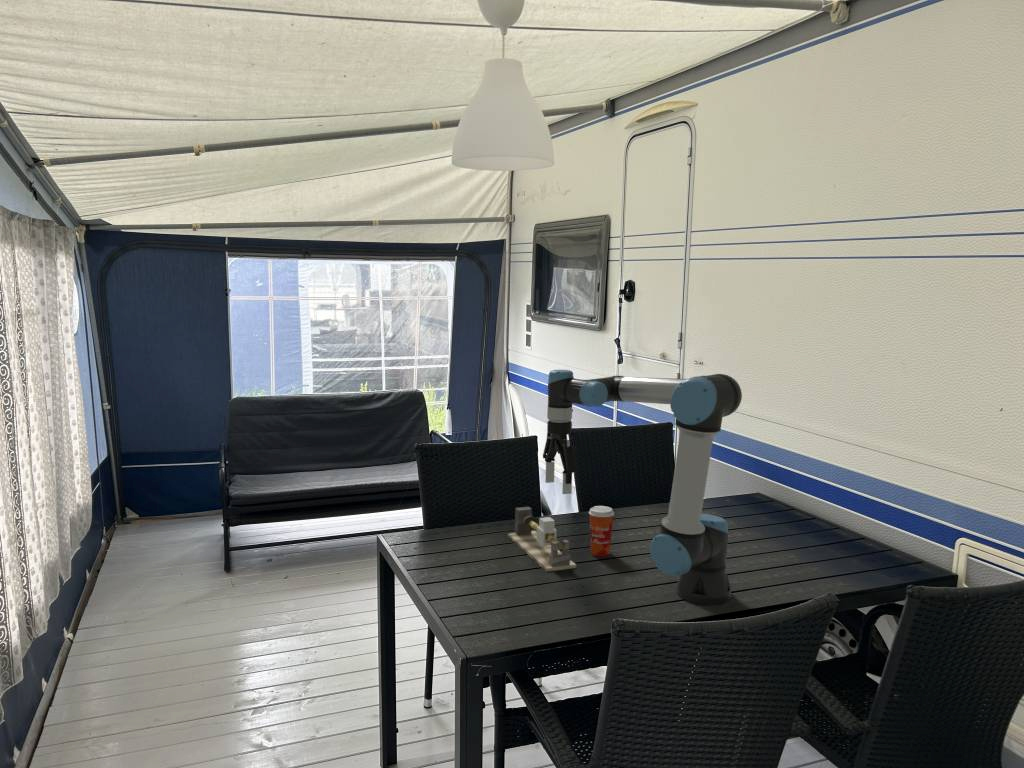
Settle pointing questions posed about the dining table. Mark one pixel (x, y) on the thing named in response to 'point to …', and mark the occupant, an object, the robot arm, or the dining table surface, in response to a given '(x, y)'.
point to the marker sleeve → (546, 530)
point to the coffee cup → (600, 530)
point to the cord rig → (528, 542)
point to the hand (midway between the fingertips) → (558, 487)
